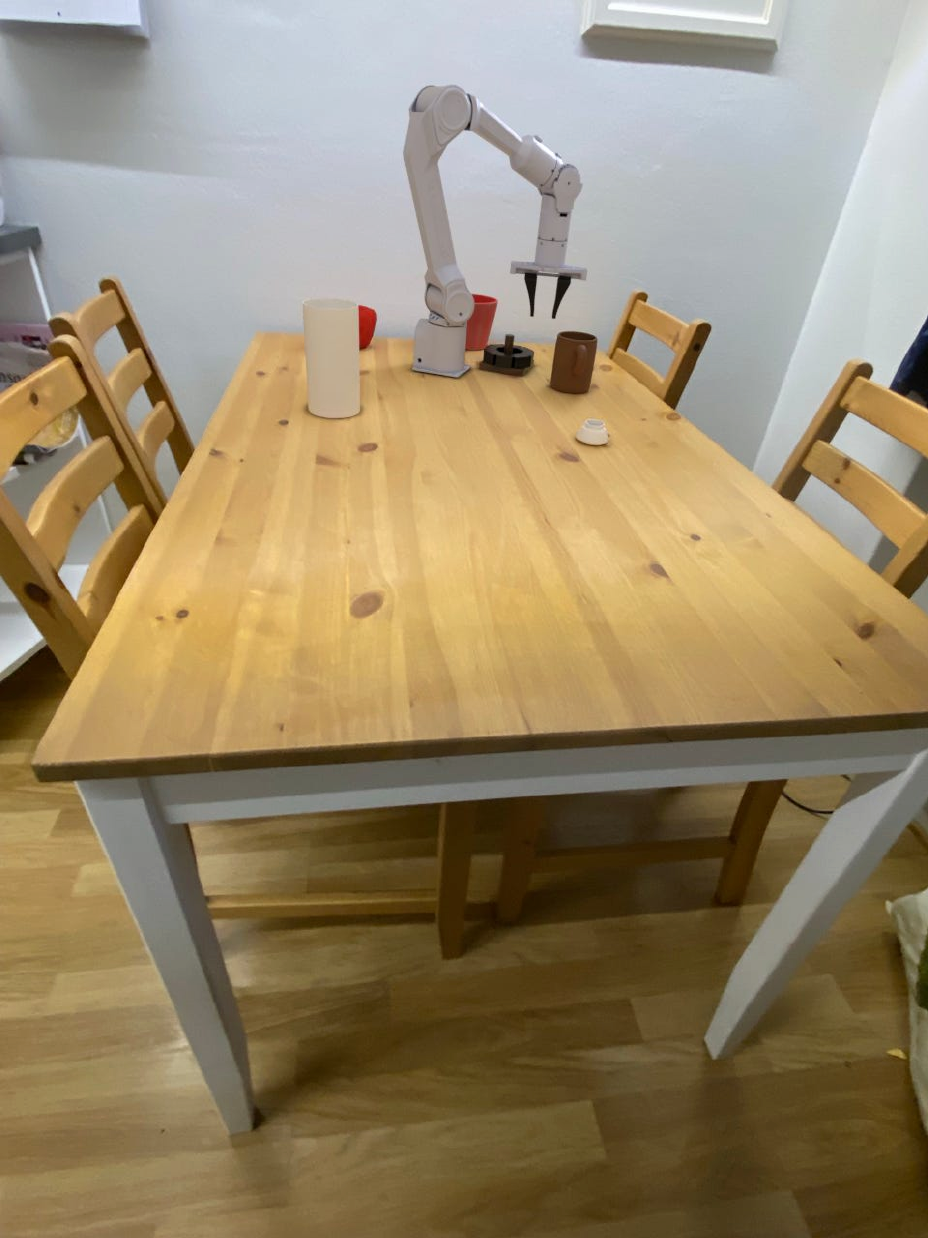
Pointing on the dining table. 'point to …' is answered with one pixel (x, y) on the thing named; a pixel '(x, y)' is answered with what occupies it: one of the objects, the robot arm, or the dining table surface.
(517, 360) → the ring
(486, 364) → the post
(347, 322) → the cup
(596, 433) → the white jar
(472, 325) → the flower pot
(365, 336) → the apple
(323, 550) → the dining table surface
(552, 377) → the mug
